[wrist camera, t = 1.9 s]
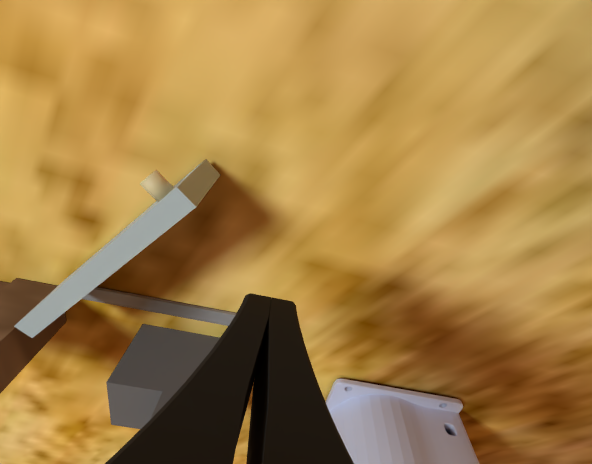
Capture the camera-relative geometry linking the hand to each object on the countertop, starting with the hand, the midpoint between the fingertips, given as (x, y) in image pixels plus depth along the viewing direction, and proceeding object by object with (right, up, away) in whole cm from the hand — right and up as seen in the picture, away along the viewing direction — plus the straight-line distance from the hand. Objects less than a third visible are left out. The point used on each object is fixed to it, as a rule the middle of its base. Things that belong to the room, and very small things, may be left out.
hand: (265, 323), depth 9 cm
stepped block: (-6, -6, +13) cm, 16 cm away
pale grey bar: (-8, +3, +8) cm, 12 cm away
